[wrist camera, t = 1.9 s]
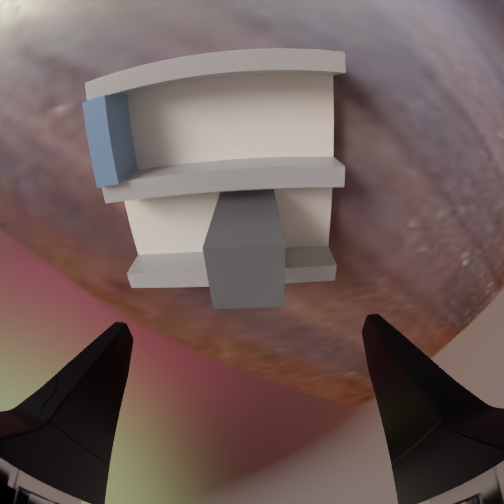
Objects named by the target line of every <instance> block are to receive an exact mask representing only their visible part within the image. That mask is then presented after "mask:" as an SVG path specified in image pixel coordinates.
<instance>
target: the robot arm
mask: <svg viewBox="0 0 504 504" xmlns="http://www.w3.org/2000/svg"><path fill="white" fill-rule="evenodd" d="M362 337H363V342H364V347H365V353H366V359H367V365H368V370H369V374H370V378H371V381H372V385H373V389H374V392H375V396H376V400H377V404H378V407H379V411H380V415H381V419H382V423H383V428H384V432H385V436H386V441H387V445H388V450H389V454H390V459H391V464H392V470H393V475H394V481H395V486H396V492H397V499H398V504H418V503H420V502H423V501H426V500H428V499H429V501H430V504H504V409H502V408H495V407H492V406H490V405H487V404H486V403H484V402H483V401H482V400H480V399H479V398H478V397H476V396H475V395H473V394H472V393H471V392H470V391H468V390H467V389H465V388H464V387H462V385H460V384H459V383H458V382H456V381H455V380H454V379H453V378H452V377H450V376H449V375H448V374H447V373H446V372H445V371H444V370H442V369H441V368H439V366H438V365H437V364H436V363H434V362H433V361H432V360H431V359H430V358H429V357H428V356H427V355H425V354H424V353H423V352H422V351H421V350H420V349H419V348H417V347H416V346H415V345H414V344H413V343H412V342H410V341H409V340H408V339H407V338H406V337H405V336H403V335H402V334H401V333H400V332H399V331H398V330H396V329H395V328H394V327H393V326H392V325H391V324H389V323H388V322H387V321H386V320H385V319H383V318H382V317H381V316H380V315H379V314H370V315H367V317H366V320H365V323H364V326H363V330H362ZM132 345H133V337H132V335H131V333H130V330H129V328H128V326H127V324H126V323H124V322H115V323H114V324H113V325H112V326H110V327H109V328H108V329H107V330H106V331H104V332H103V333H102V334H101V335H100V336H99V337H98V338H96V339H95V340H94V341H93V342H92V343H91V344H90V345H88V346H87V347H86V348H85V349H84V350H83V351H82V352H80V353H79V354H78V355H77V356H76V357H75V358H74V359H73V360H71V361H70V362H69V363H68V364H67V365H66V366H65V367H64V368H62V370H60V371H59V372H58V373H57V374H56V375H55V376H54V377H53V378H51V379H50V380H49V381H48V382H47V383H46V384H45V385H44V386H42V387H41V388H40V389H39V390H37V391H36V392H35V393H34V394H32V395H31V396H30V397H28V398H27V399H26V400H25V401H23V402H22V403H21V404H19V405H18V406H17V407H15V408H13V409H11V410H8V411H2V412H0V504H81V501H82V500H83V501H85V502H88V503H91V504H104V503H105V495H106V487H107V479H108V472H109V466H110V465H109V464H110V459H111V452H112V447H113V442H114V436H115V431H116V426H117V421H118V416H119V411H120V407H121V403H122V399H123V394H124V390H125V386H126V382H127V377H128V372H129V366H130V359H131V352H132Z"/></svg>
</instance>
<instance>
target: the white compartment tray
mask: <svg viewBox="0 0 504 504" xmlns="http://www.w3.org/2000/svg"><path fill="white" fill-rule="evenodd" d="M343 73H346V65H345V52H340V51H330V50H317V49H293V48H269V49H245V50H231V51H221V52H212V53H204V54H197V55H190V56H184V57H178V58H173V59H168V60H163V61H158V62H154V63H149V64H145V65H141V66H137V67H133V68H130V69H126V70H123V71H119V72H116V73H112V74H109V75H106V76H103V77H100V78H97V79H94V80H91V81H89V82H86V83H85V88H86V98H87V101H85V102H82V103H83V112H84V119H85V126H86V133H87V139H88V145H89V150H90V156H91V161H92V166H93V170H94V175H95V180H96V184H97V188H100V187H102V190H103V195H104V199H105V203H113V202H120V201H124V202H125V206H126V210H127V214H128V219H129V222H130V226H131V230H132V234H133V238H134V241H135V245H136V248H137V252H138V256H137V258H136V259H135V261H134V263H133V264H132V266H131V268H130V269H129V271H128V273H127V276H128V279H129V282H130V285H131V287H132V288H163V287H209V282H208V277H207V271H206V266H205V260H204V254H203V245H204V242H205V239H206V235H207V232H208V229H209V226H210V222H211V219H212V216H213V213H214V210H215V207H216V204H217V201H218V198H219V195H220V192H234V191H251V190H272V189H274V192H275V197H276V202H277V207H278V212H279V217H280V222H281V227H282V232H283V237H284V242H285V283H302V282H319V281H334V280H335V276H336V268H337V265H336V262H335V260H334V258H333V255H332V253H331V251H330V248H329V246H328V244H329V232H330V219H331V203H332V187H344V184H345V166H344V165H343V164H342V163H341V162H339V161H338V160H337V159H336V158H334V157H333V156H334V92H333V76H334V75H339V74H343Z"/></svg>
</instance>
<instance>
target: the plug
mask: <svg viewBox="0 0 504 504" xmlns="http://www.w3.org/2000/svg"><path fill="white" fill-rule="evenodd" d="M203 254H204V260H205V266H206V271H207V277H208V282H209V288H210V293H211V299H212V304H213V309H235V308H262V307H283V306H284V295H285V242H284V237H283V232H282V227H281V222H280V217H279V212H278V207H277V202H276V197H275V192H274V189H272V190H251V191H234V192H220V195H219V198H218V201H217V204H216V207H215V210H214V213H213V216H212V219H211V222H210V226H209V229H208V232H207V235H206V239H205V242H204V245H203Z"/></svg>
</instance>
